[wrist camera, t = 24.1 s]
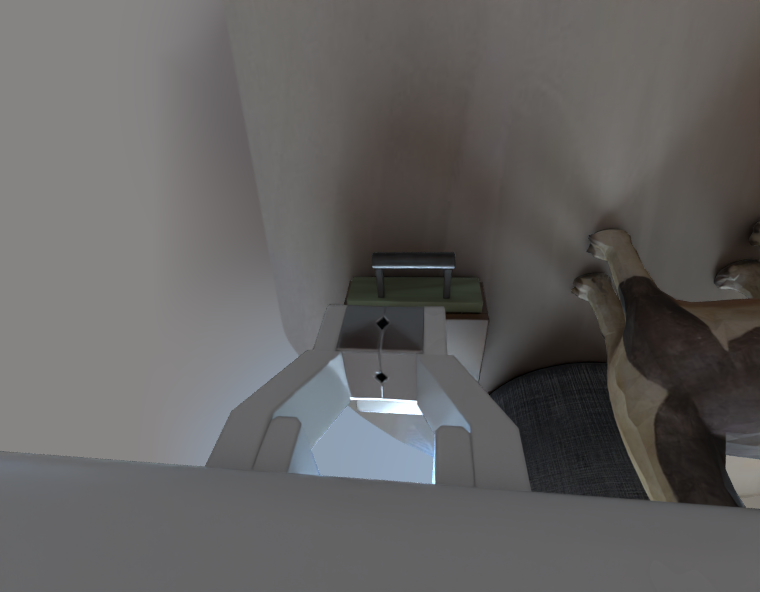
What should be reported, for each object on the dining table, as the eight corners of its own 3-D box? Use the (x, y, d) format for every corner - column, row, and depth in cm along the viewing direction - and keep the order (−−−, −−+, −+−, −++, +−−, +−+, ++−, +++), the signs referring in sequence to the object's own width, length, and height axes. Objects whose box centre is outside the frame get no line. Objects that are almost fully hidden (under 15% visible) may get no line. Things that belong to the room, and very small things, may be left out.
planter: (621, 473, 58) (701, 672, 41) (459, 454, 59) (472, 639, 42) (725, 371, 41) (930, 634, 24) (498, 348, 43) (544, 582, 26)
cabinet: (350, 280, 38) (340, 316, 34) (482, 281, 37) (489, 319, 32) (363, 374, 48) (357, 411, 44) (468, 378, 47) (472, 417, 42)
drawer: (347, 235, 34) (339, 258, 31) (484, 235, 32) (489, 259, 30) (365, 368, 46) (361, 394, 43) (466, 372, 45) (468, 399, 42)
